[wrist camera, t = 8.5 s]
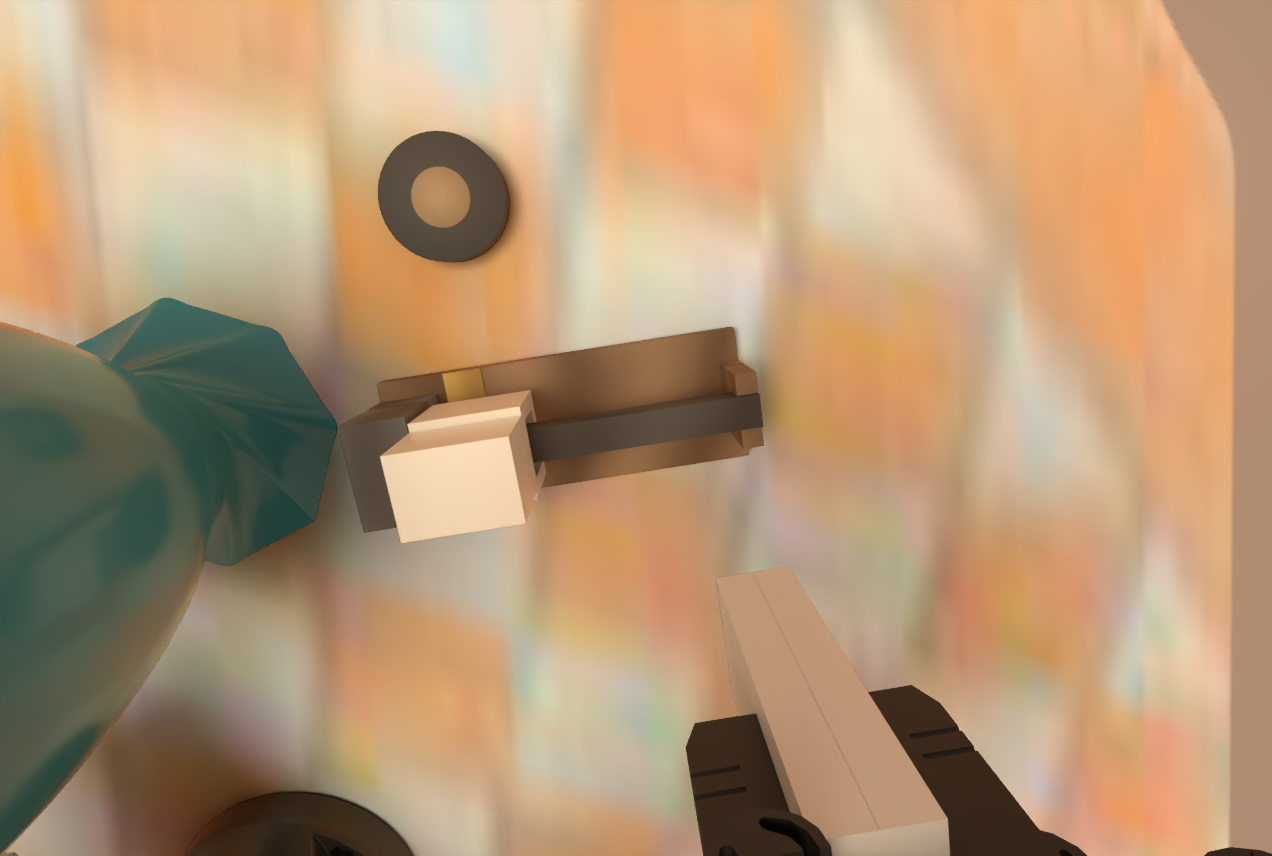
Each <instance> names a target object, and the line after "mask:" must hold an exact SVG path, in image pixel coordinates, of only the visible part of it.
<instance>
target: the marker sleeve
mask: <svg viewBox="0 0 1272 856" xmlns="http://www.w3.org/2000/svg"><path fill="white" fill-rule="evenodd" d="M534 422H537V421H536V416H535V411H534V405H533V400H532V395H531V390H527V391H521V392H514V393H508V394H501V395H495V396H489V397H482V398H476V399H469V400H463V401H457V402H450V403H444V404H437V405H432V406H431V407H429V408H428V409H427V410H425V411H424V412H423V413H421V414H420V415H419V416H417V417H416V418H415V419H414V420H412V421H411V422H410V423H408V424H407V425H408V429H409V434H407V435H406V436H405V437H404V438H402V439H401V440H400V441H399V442H397V443H396V444H395V445H394V446H392V447H391V448H390V449H389V450H387V451H386V452H385V453H384V454H382V455H381V456H380V459H381V463H382V467H383V471H384V475H385V479H386V483H387V488H388V492H389V496H390V500H391V504H392V508H393V512H394V516H395V520H396V524H397V528H398V532H399V536H400V540H401V543H405V542H412V541H418V540H424V539H431V538H437V537H443V536H450V535H456V534H462V533H469V532H475V531H482V530H488V529H494V528H501V527H507V526H513V525H520V524H526V522H527V519H528V515H529V512H530V509H531V506H532V503H533V501H536V500H538V498H539V495H540V491H541V488H542V485H543V482H544V478H545V475H546V469H545V464H544V461H543V462H537V463H533V459H532V453H531V448H530V443H529V438H528V433H527V427H526V424H527V423H534Z"/></svg>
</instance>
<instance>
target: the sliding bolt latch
mask: <svg viewBox="0 0 1272 856" xmlns="http://www.w3.org/2000/svg"><path fill="white" fill-rule="evenodd" d="M377 388H378V392H379V396H380V400H381V403H379V404H378V405H376V406H374V407H372V408H371V409H369V410H367V411H365V412H363V413H362V414H360V415H358V416H356V417H355V418H353V419H351V420H349V421H348V422H346V423H344V424H342V425H341V426H339V427H337V429H338V433H339V437H340V441H341V445H342V449H343V453H344V457H345V461H346V464H347V468H348V472H349V476H350V480H351V484H352V488H353V492H354V495H355V499H356V503H357V507H358V511H359V515H360V519H361V523H362V526H363V530H364V533H365V532H371V531H377V530H384V529H390V528H396V527H397V524H396V520H395V516H394V512H393V508H392V504H391V500H390V496H389V492H388V488H387V483H386V479H385V475H384V471H383V467H382V463H381V459H380V456H381V455H382V454H384V453H385V452H386V451H387V450H389V449H390V448H391V447H392V446H394V445H395V444H396V443H397V442H399V441H400V440H401V439H402V438H404V437H405V436H406V435H407V434H409V429H408V425H407V424H408V423H410V422H411V421H412V420H414V419H415V418H416V417H417V416H419V415H420V414H421V413H423V412H424V411H425V410H427V409H428V408H429V407H431V406H432V405H437V404H444V403H450V402H457V401H463V400H469V399H476V398H482V397H489V396H495V395H501V394H508V393H514V392H521V391H527V390H531V395H532V400H533V405H534V411H535V416H536V421H537V422H534V423H527V424H526V427H527V433H528V438H529V443H530V448H531V453H532V459H533V463H537V462H543V461H544V464H545V469H546V475H545V478H544V482H543V485H542V488H543V487H549V486H556V485H562V484H568V483H575V482H581V481H587V480H594V479H600V478H606V477H613V476H619V475H626V474H632V473H638V472H645V471H651V470H657V469H664V468H670V467H676V466H683V465H689V464H696V463H702V462H708V461H715V460H721V459H727V458H734V457H740V456H746V455H749V451H748V448H752V447H759V446H764V441H763V433H762V427H763V421H762V412H761V404H760V395H759V393H758V388H757V379H756V372H755V371H753V370H752V369H750V368H749V367H747V366H746V365H744V364H743V363H741V362H740V361H738V358H737V349H736V341H735V332H734V328H732V327H726V328H720V329H713V330H707V331H700V332H694V333H688V334H681V335H675V336H668V337H662V338H656V339H649V340H643V341H636V342H630V343H624V344H617V345H611V346H604V347H598V348H591V349H585V350H579V351H572V352H566V353H559V354H553V355H547V356H540V357H534V358H527V359H521V360H515V361H508V362H502V363H495V364H489V365H482V366H476V367H470V368H463V369H457V370H450V371H444V372H438V373H431V374H425V375H418V376H412V377H406V378H399V379H393V380H386V381H382V382H380V383H378V384H377Z"/></svg>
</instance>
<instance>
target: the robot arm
mask: <svg viewBox="0 0 1272 856" xmlns="http://www.w3.org/2000/svg"><path fill="white" fill-rule="evenodd" d="M716 583H717V590H718V597H719V605H720V612H721V619H722V626H723V633H724V640H725V648H726V655H727V662H728V669H729V676H730V683H731V691H732V697H733V700H734V704H735V707H736V710H737V714H738V716H736V717H730V718H724V719H718V720H712V721H706V722H700V723H695V724H694V727H693V730H692V732H691V735H690V738H689V740H688V743H687V746H686V752H687V758H688V764H689V771H690V777H691V783H692V789H693V796H694V802H695V808H696V814H697V821H698V827H699V833H700V839H701V845H702V850H703V856H1087V855H1086V854H1085V853H1084V852H1083V851H1082V850H1080V849H1079V848H1078V847H1077V846H1075V845H1073V844H1071V843H1069V842H1067V841H1066V840H1064V839H1062V838H1060V837H1058V836H1056V835H1054V834H1052V833H1048V832H1044V831H1041V830H1039V829H1038V828H1037V826H1036V825H1035V824H1034V823H1033V821H1032V820H1031V819H1030V818H1029V816H1028V815H1027V814H1026V812H1025V811H1024V810H1023V809H1022V807H1021V806H1020V805H1019V803H1018V802H1017V801H1016V800H1015V798H1014V797H1013V796H1012V794H1011V793H1010V792H1009V791H1008V789H1007V788H1006V787H1005V786H1004V784H1003V783H1002V782H1001V780H1000V779H999V778H998V777H997V775H996V774H995V773H994V771H993V770H992V769H991V768H990V766H989V765H988V764H987V763H986V761H985V760H984V759H983V757H982V756H981V755H980V754H979V752H978V751H975V750H974V746H973V745H972V743H971V742H970V741H969V740H968V738H967V737H966V736H965V734H964V733H963V732H962V731H959V728H958V725H957V724H956V723H955V722H954V720H953V719H952V718H951V717H950V715H949V714H948V713H947V711H946V710H945V709H944V708H943V706H942V705H941V704H940V703H939V702H938V701H936V700H934V699H933V698H931V697H930V696H928V695H926V694H925V693H923V692H922V691H920V690H919V689H917V688H915V687H914V686H912V685H909V686H903V687H897V688H891V689H885V690H879V691H873V692H868V691H867V690H866V688H865V687H864V685H863V683H862V682H861V680H860V679H859V677H858V676H857V674H856V672H855V671H854V669H853V668H852V666H851V664H850V663H849V661H848V660H847V658H846V657H845V655H844V653H843V652H842V650H841V649H840V647H839V645H838V644H837V642H836V641H835V639H834V637H833V636H832V634H831V633H830V631H829V630H828V628H827V626H826V625H825V623H824V622H823V620H822V618H821V617H820V615H819V614H818V612H817V610H816V609H815V607H814V606H813V604H812V603H811V601H810V599H809V598H808V596H807V595H806V593H805V591H804V590H803V588H802V587H801V585H800V584H799V582H798V580H797V579H796V577H795V576H794V574H793V572H792V571H791V569H790V568H789V567H783V568H777V569H771V570H765V571H758V572H752V573H746V574H740V575H734V576H728V577H722V578H716ZM1 856H18V855H17V854H16V853H14V852H13V853H6V852H4V853H3V854H2V855H1ZM183 856H412V855H411V853H410V852H409V850H408V849H407V847H406V846H405V844H404V843H403V842H402V840H401V839H400V838H399V837H398V836H397V835H396V834H395V833H394V832H393V831H392V830H391V829H390V828H389V827H388V826H387V825H385V824H384V823H383V822H382V821H380V820H379V819H378V818H376V817H375V816H373V815H371V814H370V813H368V812H366V811H365V810H363V809H361V808H359V807H357V806H354V805H352V804H349V803H347V802H344V801H341V800H338V799H335V798H331V797H327V796H322V795H316V794H307V793H281V794H273V795H267V796H262V797H258V798H254V799H251V800H248V801H245V802H243V803H240V804H238V805H236V806H234V807H232V808H230V809H228V810H226V811H225V812H223V813H221V814H220V815H218V816H217V817H216V818H214V819H213V820H212V821H211V822H210V823H208V824H207V825H206V826H205V827H204V828H203V829H202V831H201V832H200V833H199V834H198V835H197V837H196V838H195V840H194V841H193V842H192V844H191V845H190V846H189V848H188V849H187V851H186V852H185V853H184V855H183ZM1205 856H1272V854H1270V853H1267V852H1264V851H1261V850H1253V849H1242V848H1233V847H1230V848H1225V849H1220V850H1215V851H1211V852H1208V853H1207V854H1206V855H1205Z"/></svg>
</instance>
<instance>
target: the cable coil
mask: <svg viewBox="0 0 1272 856" xmlns="http://www.w3.org/2000/svg"><path fill="white" fill-rule="evenodd" d="M378 200H379V207H380V210H381V214H382V217H383V219H384V221H385V224H386V225H387V227H388V229H389V230H390V232H391V233H392V234H393V236H394V237H395V238H396V239H397V240H398V241H399V242H400V243H401V244H402V245H403V246H404V247H405V248H407V249H408V250H410V251H411V252H413V253H414V254H416V255H419V256H421V257H423V258H426V259H429V260H434V261H443V262H463V261H467V260H471V259H474V258H476V257H478V256H480V255H482V254H484V253H485V252H486V251H488V250H489V249H490V248H491V247H492V246H493V245H494V244H495V243H496V242H497V241H498V239H499V238H500V236H501V235H502V233H503V231H504V229H505V226H506V224H507V220H508V215H509V193H508V189H507V185H506V182H505V180H504V177H503V175H502V173H501V172H500V170H499V168H498V167H497V166H496V164H495V163H494V162H493V161H492V159H491V158H490V157H489V156H488V155H487V154H486V153H485V152H484V151H483V150H482V149H480V148H479V147H478V146H477V145H476V144H474V143H473V142H471V141H470V140H468V139H466V138H464V137H462V136H460V135H457V134H454V133H450V132H444V131H430V132H424V133H419V134H417V135H414V136H412V137H410V138H408V139H406V140H405V141H403V142H402V143H401V144H399V145H398V146H397V147H396V148H395V149H394V150H393V151H392V152H391V154H390V155H389V157H388V158H387V160H386V162H385V163H384V165H383V168H382V171H381V173H380V178H379V183H378Z"/></svg>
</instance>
